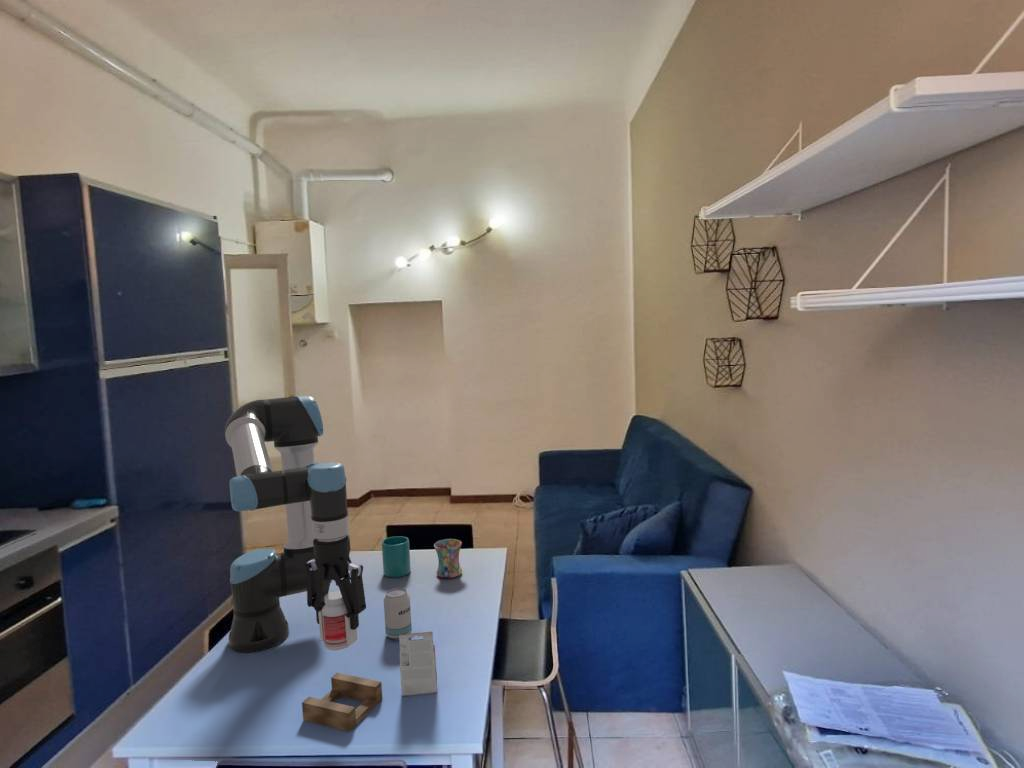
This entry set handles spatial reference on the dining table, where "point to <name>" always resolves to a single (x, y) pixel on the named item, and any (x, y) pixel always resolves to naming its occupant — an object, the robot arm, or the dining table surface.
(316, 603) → the robot arm
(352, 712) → the walnut holder
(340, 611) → the pill bottle
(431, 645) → the ink box
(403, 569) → the cup
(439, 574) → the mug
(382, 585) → the dining table surface
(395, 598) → the beverage can
